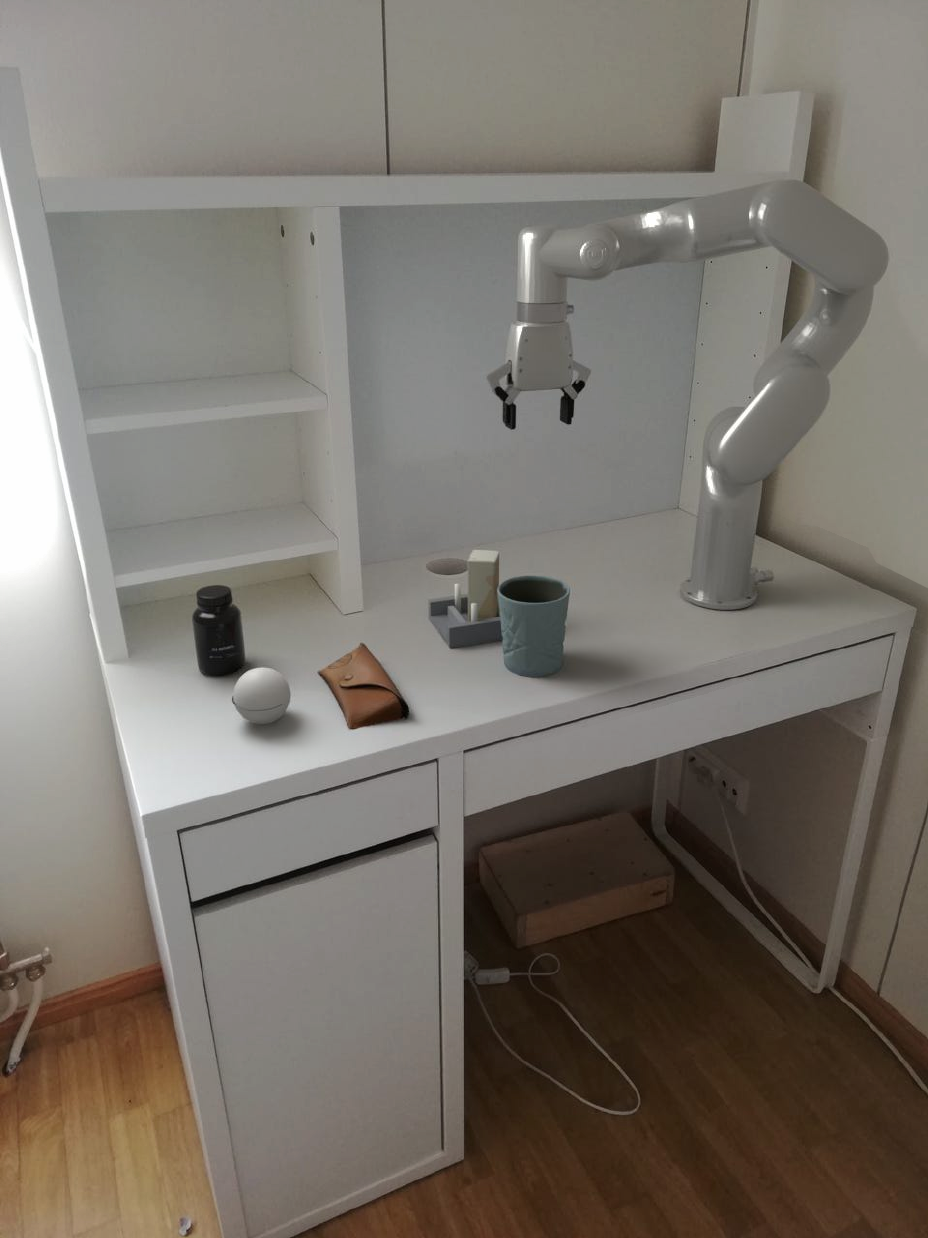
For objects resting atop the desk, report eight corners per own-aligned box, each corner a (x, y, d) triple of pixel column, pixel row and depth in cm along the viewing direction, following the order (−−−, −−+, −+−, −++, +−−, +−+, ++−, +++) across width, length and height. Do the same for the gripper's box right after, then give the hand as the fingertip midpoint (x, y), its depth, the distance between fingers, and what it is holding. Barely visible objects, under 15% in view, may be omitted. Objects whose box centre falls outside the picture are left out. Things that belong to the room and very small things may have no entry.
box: (494, 628, 141) (494, 562, 136) (466, 626, 142) (466, 560, 137) (499, 614, 146) (499, 549, 141) (472, 612, 147) (472, 548, 142)
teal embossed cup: (579, 669, 131) (584, 593, 126) (521, 687, 127) (522, 609, 122) (540, 642, 139) (543, 569, 134) (483, 657, 135) (484, 583, 130)
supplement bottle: (222, 682, 128) (212, 605, 123) (188, 670, 132) (177, 594, 127) (256, 662, 134) (248, 587, 129) (223, 651, 137) (213, 578, 132)
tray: (509, 606, 151) (510, 573, 148) (535, 634, 141) (536, 599, 139) (428, 618, 147) (427, 584, 144) (449, 648, 137) (449, 612, 135)
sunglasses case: (312, 670, 131) (332, 630, 130) (354, 683, 135) (374, 644, 134) (349, 731, 116) (372, 687, 115) (394, 744, 120) (417, 702, 119)
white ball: (252, 702, 123) (246, 654, 120) (302, 710, 122) (297, 661, 118) (214, 740, 115) (206, 690, 112) (267, 750, 113) (261, 699, 110)
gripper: (582, 308, 145) (577, 416, 152) (479, 313, 140) (479, 424, 147) (603, 314, 138) (597, 426, 146) (497, 319, 133) (495, 435, 141)
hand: (538, 425), depth 146 cm, fingers open, 9 cm apart
